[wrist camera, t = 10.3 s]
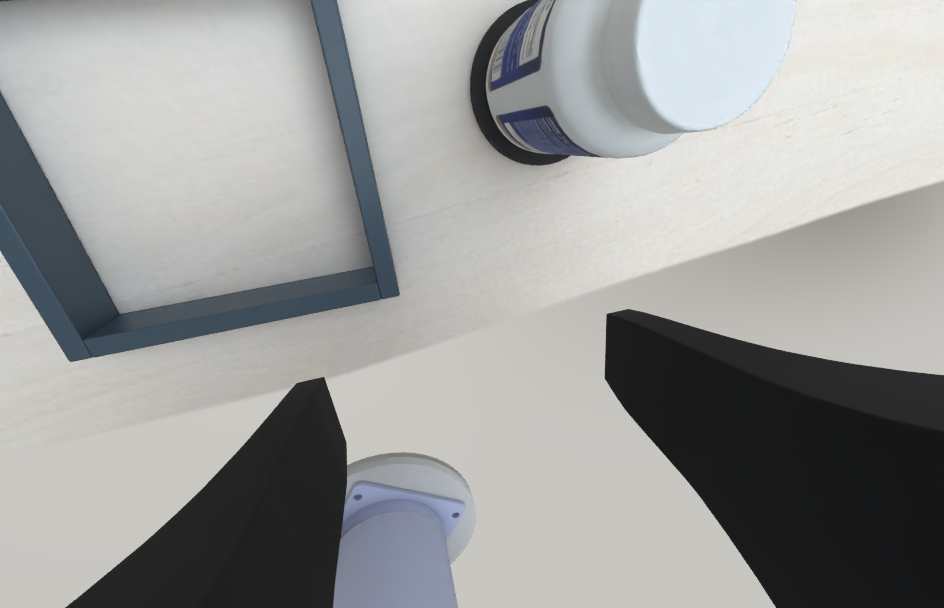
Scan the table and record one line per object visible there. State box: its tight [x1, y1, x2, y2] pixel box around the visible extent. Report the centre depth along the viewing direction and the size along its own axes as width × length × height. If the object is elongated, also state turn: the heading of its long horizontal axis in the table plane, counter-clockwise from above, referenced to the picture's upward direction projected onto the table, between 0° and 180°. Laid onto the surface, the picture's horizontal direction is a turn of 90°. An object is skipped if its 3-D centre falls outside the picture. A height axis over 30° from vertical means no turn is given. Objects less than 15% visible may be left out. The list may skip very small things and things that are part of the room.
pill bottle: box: [486, 0, 796, 158], centre depth 13 cm, size 5×5×10 cm
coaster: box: [470, 0, 571, 165], centre depth 18 cm, size 6×6×1 cm
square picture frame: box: [0, 0, 400, 362], centre depth 15 cm, size 13×13×2 cm
